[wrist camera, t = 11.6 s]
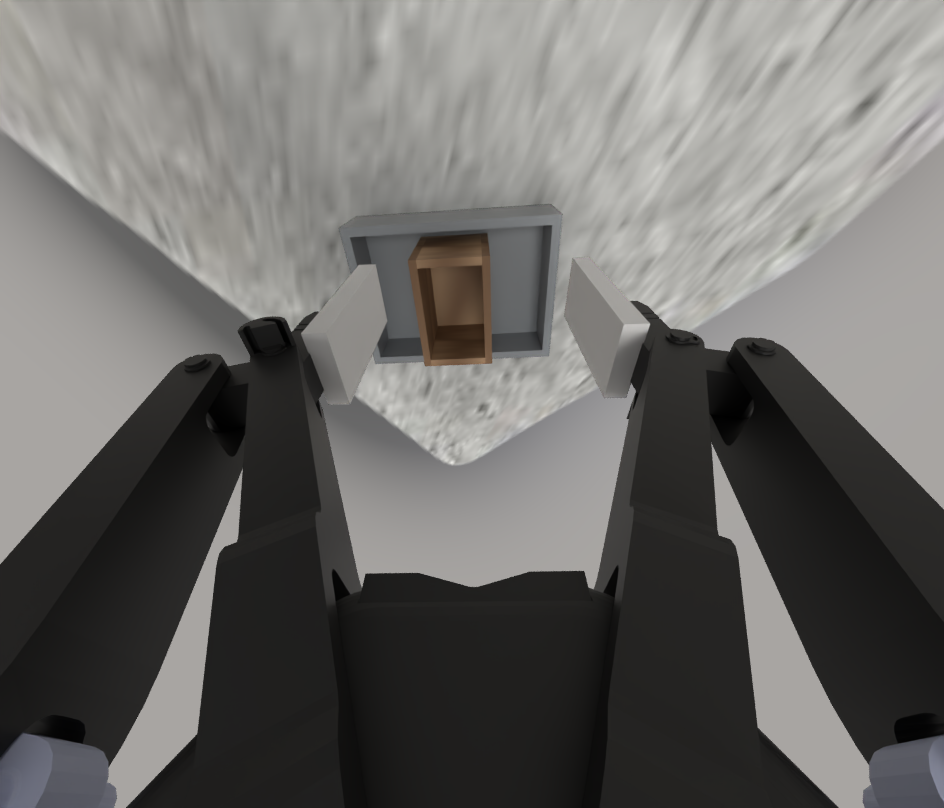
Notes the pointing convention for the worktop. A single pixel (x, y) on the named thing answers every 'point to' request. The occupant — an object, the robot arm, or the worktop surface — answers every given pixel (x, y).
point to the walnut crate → (453, 298)
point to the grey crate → (511, 268)
